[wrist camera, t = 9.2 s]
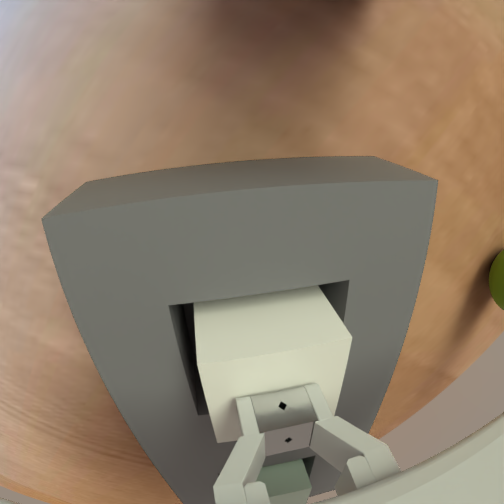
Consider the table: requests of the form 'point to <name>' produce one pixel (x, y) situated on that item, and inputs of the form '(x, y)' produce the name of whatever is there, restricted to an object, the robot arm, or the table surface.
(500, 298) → the snail figurine
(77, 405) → the table surface
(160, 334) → the key console
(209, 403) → the white key
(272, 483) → the pale green cube
